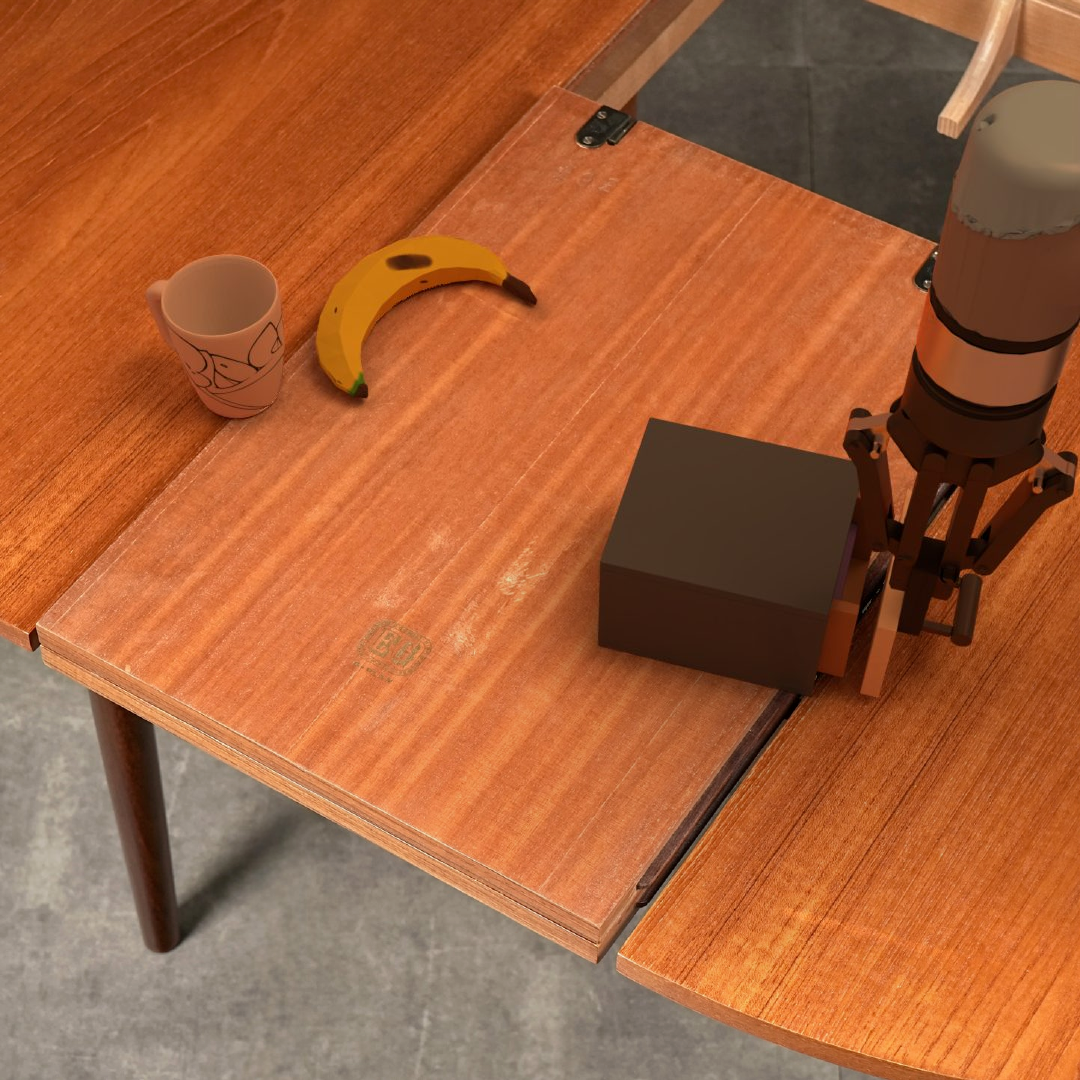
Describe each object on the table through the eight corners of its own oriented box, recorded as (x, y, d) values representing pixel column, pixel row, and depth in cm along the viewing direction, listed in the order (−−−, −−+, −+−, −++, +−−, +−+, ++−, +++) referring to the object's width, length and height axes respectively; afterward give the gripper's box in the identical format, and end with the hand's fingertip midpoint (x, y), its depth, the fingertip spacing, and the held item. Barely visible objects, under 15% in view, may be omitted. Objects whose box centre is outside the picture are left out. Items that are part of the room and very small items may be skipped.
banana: (288, 354, 125) (479, 420, 124) (374, 192, 134) (553, 252, 133) (289, 390, 129) (474, 454, 128) (373, 230, 138) (546, 289, 137)
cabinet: (846, 550, 119) (865, 462, 111) (811, 697, 112) (828, 615, 104) (644, 504, 122) (649, 416, 114) (597, 645, 115) (599, 561, 107)
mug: (131, 390, 129) (102, 295, 121) (199, 320, 133) (175, 225, 125) (253, 446, 126) (232, 353, 118) (318, 373, 130) (302, 278, 122)
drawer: (978, 578, 116) (1001, 508, 110) (953, 716, 110) (976, 649, 104) (716, 519, 120) (724, 448, 113) (677, 649, 113) (683, 581, 107)
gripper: (1122, 333, 89) (1023, 593, 107) (874, 284, 91) (820, 547, 110) (1108, 439, 84) (1007, 690, 103) (849, 384, 87) (796, 640, 106)
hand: (911, 616), depth 106 cm, fingers closed
